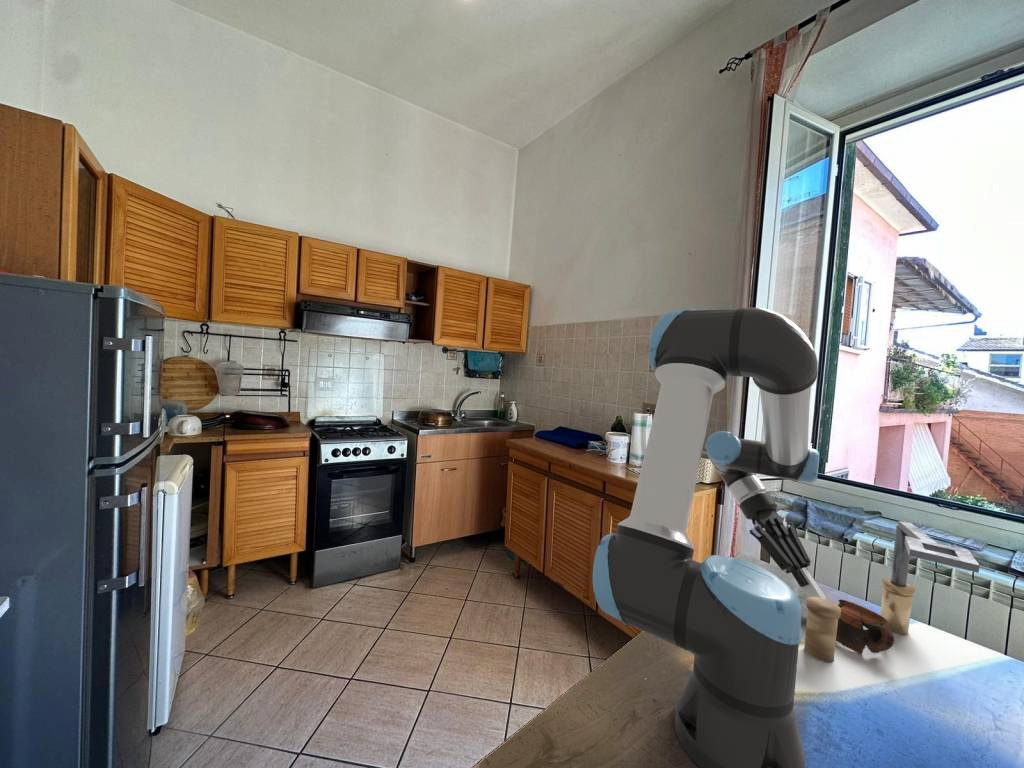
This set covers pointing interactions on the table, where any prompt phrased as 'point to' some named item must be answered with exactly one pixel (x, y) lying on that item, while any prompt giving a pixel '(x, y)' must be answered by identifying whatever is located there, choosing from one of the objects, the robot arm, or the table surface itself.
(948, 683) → the table surface
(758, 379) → the robot arm
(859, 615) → the broken brown pot
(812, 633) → the oak collar post
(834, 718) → the table surface
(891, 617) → the aperture bracket
